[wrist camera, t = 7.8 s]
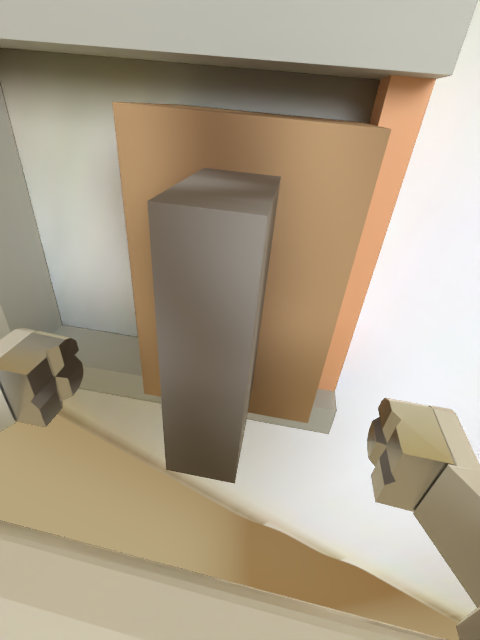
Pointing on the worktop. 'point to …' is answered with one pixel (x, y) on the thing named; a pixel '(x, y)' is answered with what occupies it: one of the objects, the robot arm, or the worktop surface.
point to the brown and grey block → (238, 262)
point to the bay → (243, 52)
